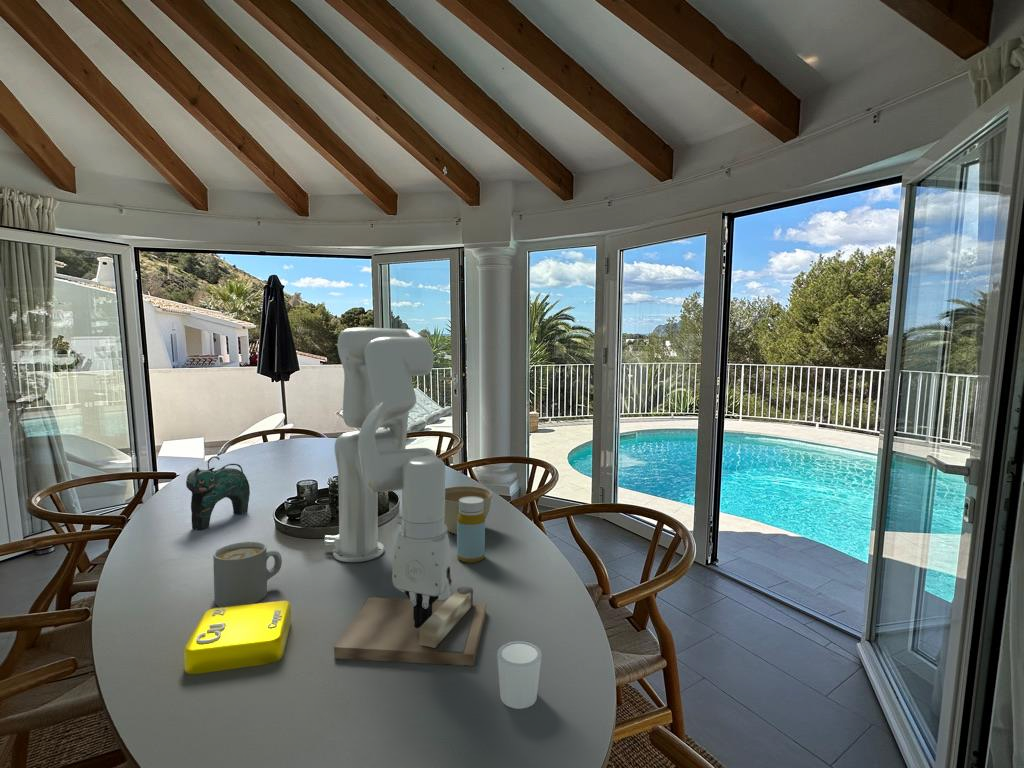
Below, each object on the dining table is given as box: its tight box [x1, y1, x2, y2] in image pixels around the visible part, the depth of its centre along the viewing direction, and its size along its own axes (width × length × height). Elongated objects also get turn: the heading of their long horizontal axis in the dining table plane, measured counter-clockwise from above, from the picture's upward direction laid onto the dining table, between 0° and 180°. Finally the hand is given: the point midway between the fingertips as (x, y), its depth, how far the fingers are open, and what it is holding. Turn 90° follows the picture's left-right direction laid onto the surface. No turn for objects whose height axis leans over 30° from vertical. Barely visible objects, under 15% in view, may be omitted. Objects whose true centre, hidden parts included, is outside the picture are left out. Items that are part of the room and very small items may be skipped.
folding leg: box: [419, 586, 474, 648], centre depth 99 cm, size 17×3×3 cm, turn 161°
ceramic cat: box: [185, 456, 251, 531], centre depth 159 cm, size 20×6×20 cm, turn 161°
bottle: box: [456, 496, 486, 563], centre depth 134 cm, size 7×7×15 cm
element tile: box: [183, 600, 292, 675], centre depth 95 cm, size 15×15×5 cm
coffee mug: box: [212, 541, 283, 608], centre depth 113 cm, size 13×10×10 cm
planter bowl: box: [445, 485, 493, 535], centre depth 154 cm, size 16×16×11 cm
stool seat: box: [333, 597, 487, 667], centre depth 99 cm, size 24×18×2 cm
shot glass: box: [496, 640, 543, 710], centre depth 81 cm, size 7×7×7 cm
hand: (422, 624), depth 96 cm, fingers closed
